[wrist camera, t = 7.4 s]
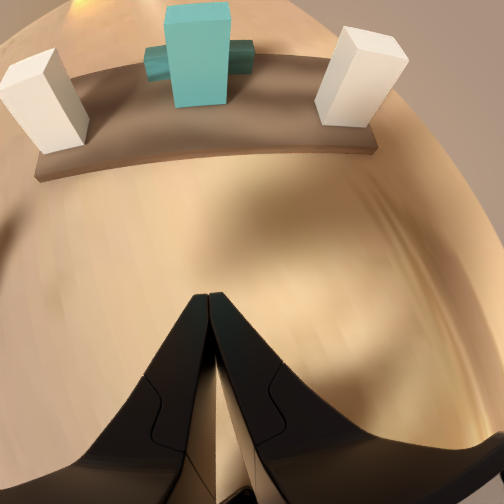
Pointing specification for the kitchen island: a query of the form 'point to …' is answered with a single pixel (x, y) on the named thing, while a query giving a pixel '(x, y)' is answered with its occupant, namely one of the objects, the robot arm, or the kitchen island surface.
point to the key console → (202, 115)
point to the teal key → (198, 52)
